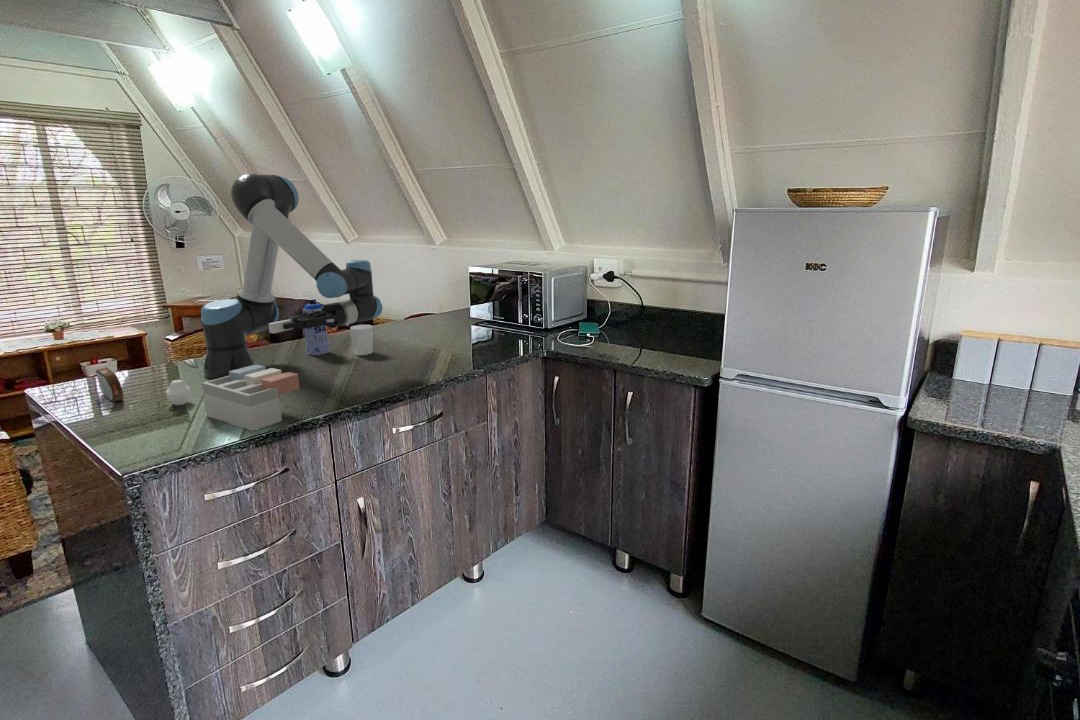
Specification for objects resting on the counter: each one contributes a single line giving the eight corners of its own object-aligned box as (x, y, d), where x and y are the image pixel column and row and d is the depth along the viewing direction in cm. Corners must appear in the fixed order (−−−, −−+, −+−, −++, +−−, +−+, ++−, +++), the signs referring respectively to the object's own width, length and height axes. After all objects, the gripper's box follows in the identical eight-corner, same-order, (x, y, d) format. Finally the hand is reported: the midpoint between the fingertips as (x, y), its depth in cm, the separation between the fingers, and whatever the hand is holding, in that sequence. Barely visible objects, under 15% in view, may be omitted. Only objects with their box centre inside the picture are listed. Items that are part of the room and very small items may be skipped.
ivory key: (246, 389, 155) (244, 375, 153) (273, 381, 161) (272, 367, 160) (255, 392, 153) (253, 377, 151) (283, 384, 159) (281, 370, 158)
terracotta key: (262, 394, 151) (261, 379, 150) (290, 386, 158) (288, 371, 157) (272, 396, 149) (270, 381, 148) (299, 388, 156) (298, 374, 155)
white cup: (368, 356, 213) (366, 329, 211) (348, 355, 215) (345, 328, 212) (378, 351, 221) (376, 325, 218) (358, 350, 222) (356, 324, 219)
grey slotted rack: (207, 416, 155) (201, 382, 152) (235, 407, 161) (231, 375, 159) (253, 431, 145) (248, 395, 142) (281, 421, 151) (277, 387, 149)
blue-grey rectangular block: (231, 385, 158) (228, 371, 157) (258, 378, 165) (256, 364, 164) (239, 387, 156) (237, 373, 155) (267, 380, 163) (265, 366, 162)
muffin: (197, 399, 167) (193, 376, 165) (184, 407, 161) (180, 383, 160) (176, 399, 168) (172, 376, 166) (162, 407, 162) (158, 382, 160)
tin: (126, 402, 165) (120, 374, 163) (112, 405, 163) (106, 376, 161) (111, 391, 175) (105, 364, 173) (98, 394, 173) (92, 366, 170)
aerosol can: (314, 356, 213) (308, 302, 207) (302, 353, 217) (296, 300, 212) (333, 352, 219) (328, 299, 213) (321, 349, 223) (316, 297, 218)
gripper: (354, 328, 180) (287, 344, 161) (326, 324, 187) (258, 339, 167) (352, 303, 178) (283, 317, 159) (323, 300, 185) (254, 313, 165)
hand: (270, 328), depth 163 cm, fingers closed
